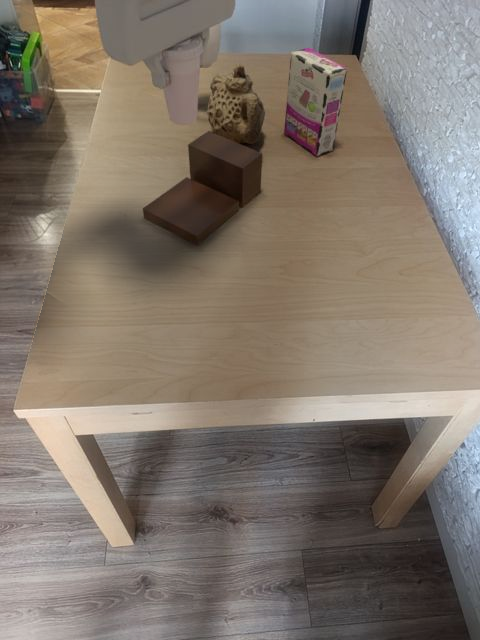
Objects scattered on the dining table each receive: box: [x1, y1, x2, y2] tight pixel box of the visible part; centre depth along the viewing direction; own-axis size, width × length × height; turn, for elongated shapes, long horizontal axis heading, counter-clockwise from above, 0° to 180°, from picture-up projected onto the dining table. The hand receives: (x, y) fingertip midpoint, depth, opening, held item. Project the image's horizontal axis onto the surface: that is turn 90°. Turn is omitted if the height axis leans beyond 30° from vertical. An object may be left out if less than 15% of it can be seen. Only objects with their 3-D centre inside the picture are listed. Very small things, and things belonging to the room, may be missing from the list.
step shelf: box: [142, 130, 263, 246], centre depth 88 cm, size 12×19×8 cm, turn 146°
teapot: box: [206, 63, 266, 145], centre depth 99 cm, size 21×12×15 cm, turn 23°
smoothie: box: [159, 35, 203, 126], centre depth 63 cm, size 6×6×14 cm
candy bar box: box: [283, 47, 348, 157], centre depth 100 cm, size 11×5×16 cm, turn 37°
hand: (179, 76), depth 65 cm, fingers closed on smoothie, 5 cm apart
